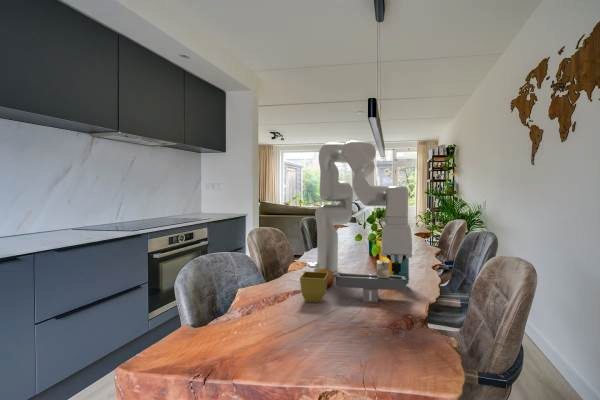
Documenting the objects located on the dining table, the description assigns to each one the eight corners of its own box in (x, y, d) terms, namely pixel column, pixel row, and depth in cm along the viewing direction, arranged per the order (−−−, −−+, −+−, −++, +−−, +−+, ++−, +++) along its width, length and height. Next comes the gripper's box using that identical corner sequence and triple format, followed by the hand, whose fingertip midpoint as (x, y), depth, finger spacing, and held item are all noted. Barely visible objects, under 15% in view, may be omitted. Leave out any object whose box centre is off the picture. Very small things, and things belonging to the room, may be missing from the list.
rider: (377, 283, 120) (377, 263, 120) (376, 279, 125) (376, 259, 125) (389, 284, 119) (389, 263, 119) (388, 280, 125) (388, 260, 124)
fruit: (333, 279, 143) (333, 265, 138) (333, 294, 136) (333, 279, 132) (314, 279, 143) (313, 264, 139) (313, 293, 137) (312, 279, 133)
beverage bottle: (405, 289, 133) (406, 237, 132) (389, 286, 137) (389, 236, 136) (411, 286, 138) (411, 236, 138) (395, 283, 142) (395, 234, 142)
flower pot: (325, 305, 115) (325, 278, 114) (299, 303, 116) (299, 277, 116) (328, 297, 123) (328, 272, 123) (304, 296, 125) (304, 271, 125)
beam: (335, 299, 121) (335, 277, 121) (337, 292, 130) (337, 271, 130) (406, 303, 116) (406, 281, 116) (403, 295, 125) (403, 274, 125)
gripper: (375, 222, 118) (374, 275, 119) (420, 222, 116) (420, 277, 116) (374, 220, 126) (374, 270, 126) (417, 220, 123) (416, 272, 124)
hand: (396, 273), depth 121 cm, fingers closed
